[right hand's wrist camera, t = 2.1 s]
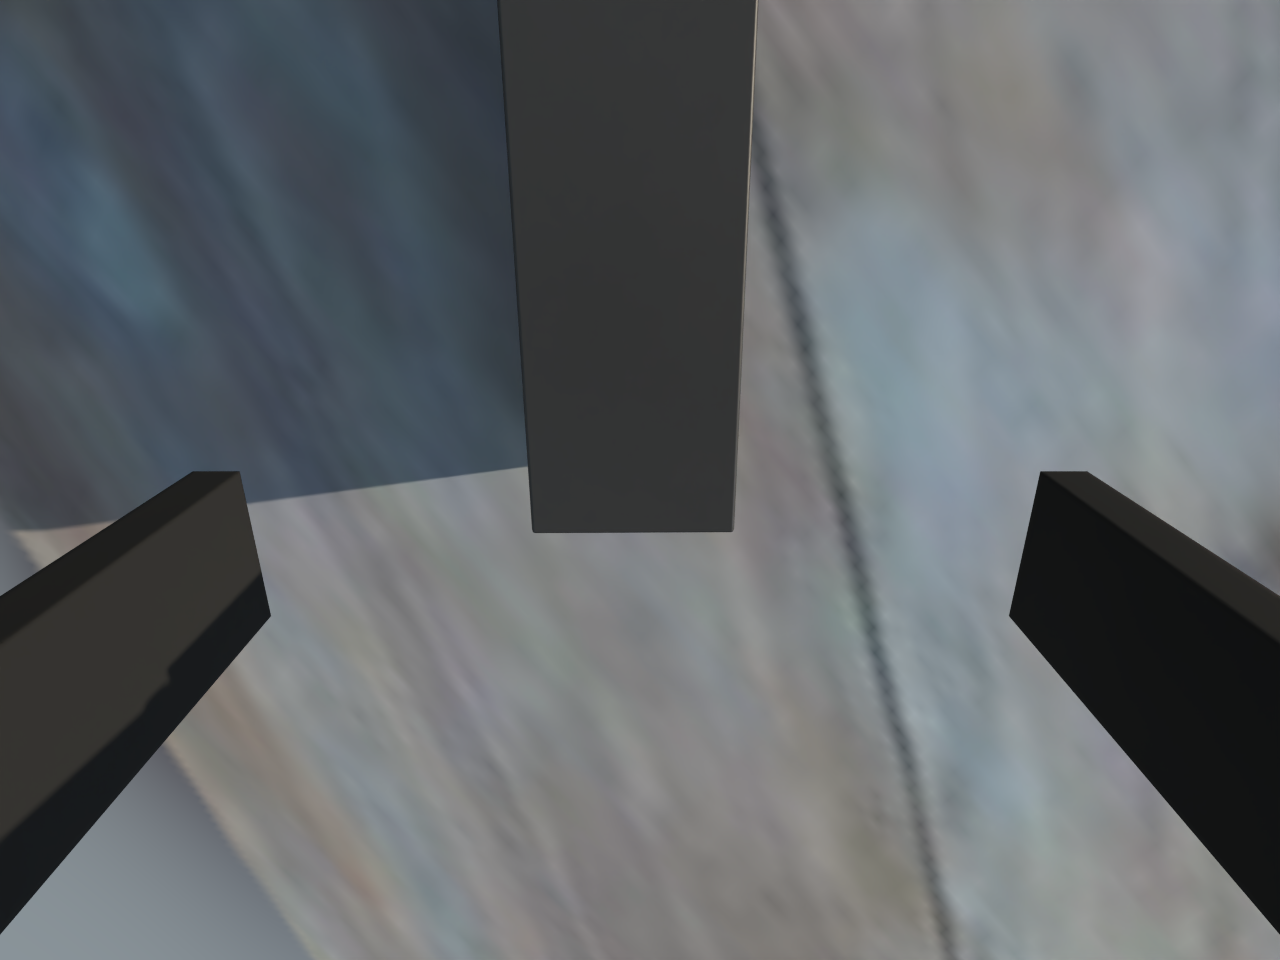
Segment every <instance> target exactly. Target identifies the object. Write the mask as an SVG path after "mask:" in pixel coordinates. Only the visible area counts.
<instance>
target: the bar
mask: <svg viewBox="0 0 1280 960" xmlns="http://www.w3.org/2000/svg"><path fill="white" fill-rule="evenodd" d="M497 4H498V19H499V34H500V49H501V64H502V79H503V95H504V110H505V125H506V140H507V155H508V170H509V186H510V201H511V216H512V231H513V246H514V261H515V276H516V292H517V307H518V322H519V337H520V352H521V367H522V383H523V398H524V413H525V428H526V443H527V458H528V473H529V489H530V504H531V519H532V530H533V532H534V533H628V532H733V530H734V517H735V496H736V474H737V452H738V431H739V409H740V388H741V366H742V345H743V323H744V301H745V280H746V258H747V237H748V215H749V193H750V172H751V150H752V129H753V107H754V86H755V64H756V42H757V21H758V0H497Z"/></svg>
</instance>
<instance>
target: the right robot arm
mask: <svg viewBox="0 0 1280 960" xmlns="http://www.w3.org/2000/svg"><path fill="white" fill-rule="evenodd" d="M270 616H271V614H270V609H269V605H268V600H267V595H266V591H265V586H264V582H263V577H262V572H261V568H260V563H259V559H258V554H257V549H256V545H255V540H254V536H253V531H252V526H251V522H250V517H249V513H248V508H247V503H246V499H245V494H244V490H243V485H242V480H241V476H240V471H193V472H191V473H190V474H188V475H187V476H185V477H184V478H182V479H180V480H179V481H177V482H176V483H174V484H173V485H171V486H170V487H168V488H167V489H165V490H163V491H162V492H160V493H159V494H157V495H156V496H154V497H153V498H151V499H150V500H148V501H146V502H145V503H143V504H142V505H140V506H139V507H137V508H136V509H134V510H133V511H131V512H129V513H128V514H126V515H125V516H123V517H122V518H120V519H119V520H117V521H116V522H114V523H113V524H111V525H109V526H108V527H106V528H105V529H103V530H102V531H100V532H99V533H97V534H96V535H94V536H92V537H91V538H89V539H88V540H86V541H85V542H83V543H82V544H80V545H79V546H77V547H75V548H74V549H72V550H71V551H69V552H68V553H66V554H65V555H63V556H62V557H60V558H58V559H57V560H55V561H54V562H52V563H51V564H49V565H48V566H46V567H45V568H43V569H41V570H40V571H38V572H37V573H35V574H34V575H32V576H31V577H29V578H28V579H26V580H24V581H23V582H21V583H20V584H18V585H17V586H15V587H14V588H12V589H11V590H9V591H8V592H6V593H4V594H3V595H1V596H0V934H1V933H2V932H3V931H4V929H5V928H6V927H7V926H8V925H9V923H10V922H11V921H12V920H13V919H14V918H15V916H16V915H17V914H18V913H19V912H20V911H21V909H22V908H23V907H24V906H25V905H26V903H27V902H28V901H29V900H30V899H31V898H32V896H33V895H34V894H35V893H36V892H37V890H38V889H39V888H40V887H41V886H42V885H43V883H44V882H45V881H46V880H47V879H48V878H49V876H50V875H51V874H52V873H53V872H54V870H55V869H56V868H57V867H58V866H59V865H60V863H61V862H62V861H63V860H64V859H65V858H66V856H67V855H68V854H69V853H70V852H71V850H72V849H73V848H74V847H75V846H76V845H77V843H78V842H79V841H80V840H81V839H82V838H83V836H84V835H85V834H86V833H87V832H88V831H89V829H90V828H91V827H92V826H93V825H94V823H95V822H96V821H97V820H98V819H99V818H100V816H101V815H102V814H103V813H104V812H105V811H106V809H107V808H108V807H109V806H110V805H111V803H112V802H113V801H114V800H115V799H116V798H117V796H118V795H119V794H120V793H121V792H122V791H123V789H124V788H125V787H126V786H127V785H128V783H129V782H130V781H131V780H132V779H133V778H134V776H135V775H136V774H137V773H138V772H139V771H140V769H141V768H142V767H143V766H144V765H145V763H146V762H147V761H148V760H149V759H150V758H151V756H152V755H153V754H154V753H155V752H156V751H157V749H158V748H159V747H160V746H161V745H162V744H163V742H164V741H165V740H166V739H167V738H168V736H169V735H170V734H171V733H172V732H173V731H174V729H175V728H176V727H177V726H178V725H179V724H180V722H181V721H182V720H183V719H184V718H185V716H186V715H187V714H188V713H189V712H190V711H191V709H192V708H193V707H194V706H195V705H196V704H197V702H198V701H199V700H200V699H201V698H202V696H203V695H204V694H205V693H206V692H207V691H208V689H209V688H210V687H211V686H212V685H213V684H214V682H215V681H216V680H217V679H218V678H219V676H220V675H221V674H222V673H223V672H224V671H225V669H226V668H227V667H228V666H229V665H230V664H231V662H232V661H233V660H234V659H235V658H236V656H237V655H238V654H239V653H240V652H241V651H242V649H243V648H244V647H245V646H246V645H247V644H248V642H249V641H250V640H251V639H252V638H253V636H254V635H255V634H256V633H257V632H258V631H259V629H260V628H261V627H262V626H263V625H264V624H265V622H266V621H267V620H268V619H269V618H270ZM1009 616H1010V618H1011V619H1012V620H1013V621H1014V622H1015V624H1016V625H1017V626H1018V627H1019V628H1020V629H1021V631H1022V632H1023V633H1024V634H1025V635H1026V636H1027V638H1028V639H1029V640H1030V641H1031V642H1032V644H1033V645H1034V646H1035V647H1036V648H1037V649H1038V651H1039V652H1040V653H1041V654H1042V655H1043V656H1044V658H1045V659H1046V660H1047V661H1048V662H1049V664H1050V665H1051V666H1052V667H1053V668H1054V669H1055V671H1056V672H1057V673H1058V674H1059V675H1060V676H1061V678H1062V679H1063V680H1064V681H1065V682H1066V684H1067V685H1068V686H1069V687H1070V688H1071V689H1072V691H1073V692H1074V693H1075V694H1076V695H1077V696H1078V698H1079V699H1080V700H1081V701H1082V702H1083V704H1084V705H1085V706H1086V707H1087V708H1088V709H1089V711H1090V712H1091V713H1092V714H1093V715H1094V716H1095V718H1096V719H1097V720H1098V721H1099V722H1100V724H1101V725H1102V726H1103V727H1104V728H1105V729H1106V731H1107V732H1108V733H1109V734H1110V735H1111V736H1112V738H1113V739H1114V740H1115V741H1116V742H1117V744H1118V745H1119V746H1120V747H1121V748H1122V749H1123V751H1124V752H1125V753H1126V754H1127V755H1128V756H1129V758H1130V759H1131V760H1132V761H1133V762H1134V764H1135V765H1136V766H1137V767H1138V768H1139V769H1140V771H1141V772H1142V773H1143V774H1144V775H1145V776H1146V778H1147V779H1148V780H1149V781H1150V782H1151V783H1152V785H1153V786H1154V787H1155V788H1156V789H1157V791H1158V792H1159V793H1160V794H1161V795H1162V796H1163V798H1164V799H1165V800H1166V801H1167V802H1168V803H1169V805H1170V806H1171V807H1172V808H1173V809H1174V811H1175V812H1176V813H1177V814H1178V815H1179V816H1180V818H1181V819H1182V820H1183V821H1184V822H1185V823H1186V825H1187V826H1188V827H1189V828H1190V829H1191V831H1192V832H1193V833H1194V834H1195V835H1196V836H1197V838H1198V839H1199V840H1200V841H1201V842H1202V843H1203V845H1204V846H1205V847H1206V848H1207V849H1208V851H1209V852H1210V853H1211V854H1212V855H1213V856H1214V858H1215V859H1216V860H1217V861H1218V862H1219V863H1220V865H1221V866H1222V867H1223V868H1224V869H1225V871H1226V872H1227V873H1228V874H1229V875H1230V876H1231V878H1232V879H1233V880H1234V881H1235V882H1236V883H1237V885H1238V886H1239V887H1240V888H1241V889H1242V891H1243V892H1244V893H1245V894H1246V895H1247V896H1248V898H1249V899H1250V900H1251V901H1252V902H1253V903H1254V905H1255V906H1256V907H1257V908H1258V909H1259V911H1260V912H1261V913H1262V914H1263V915H1264V916H1265V918H1266V919H1267V920H1268V921H1269V922H1270V923H1271V925H1272V926H1273V927H1274V928H1275V929H1276V931H1277V932H1278V933H1279V934H1280V596H1279V595H1277V594H1276V593H1274V592H1273V591H1271V590H1269V589H1268V588H1266V587H1265V586H1263V585H1262V584H1260V583H1259V582H1257V581H1256V580H1254V579H1252V578H1251V577H1249V576H1248V575H1246V574H1245V573H1243V572H1242V571H1240V570H1239V569H1237V568H1235V567H1234V566H1232V565H1231V564H1229V563H1228V562H1226V561H1225V560H1223V559H1222V558H1220V557H1218V556H1217V555H1215V554H1214V553H1212V552H1211V551H1209V550H1208V549H1206V548H1205V547H1203V546H1201V545H1200V544H1198V543H1197V542H1195V541H1194V540H1192V539H1191V538H1189V537H1188V536H1186V535H1184V534H1183V533H1181V532H1180V531H1178V530H1177V529H1175V528H1174V527H1172V526H1171V525H1169V524H1167V523H1166V522H1164V521H1163V520H1161V519H1160V518H1158V517H1157V516H1155V515H1154V514H1152V513H1151V512H1149V511H1147V510H1146V509H1144V508H1143V507H1141V506H1140V505H1138V504H1137V503H1135V502H1134V501H1132V500H1130V499H1129V498H1127V497H1126V496H1124V495H1123V494H1121V493H1120V492H1118V491H1117V490H1115V489H1113V488H1112V487H1110V486H1109V485H1107V484H1106V483H1104V482H1103V481H1101V480H1100V479H1098V478H1096V477H1095V476H1093V475H1092V474H1090V473H1089V472H1087V471H1040V476H1039V480H1038V485H1037V490H1036V494H1035V499H1034V503H1033V508H1032V513H1031V517H1030V522H1029V526H1028V531H1027V536H1026V540H1025V545H1024V549H1023V554H1022V559H1021V563H1020V568H1019V572H1018V577H1017V582H1016V586H1015V591H1014V595H1013V600H1012V605H1011V609H1010V614H1009Z"/></svg>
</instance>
